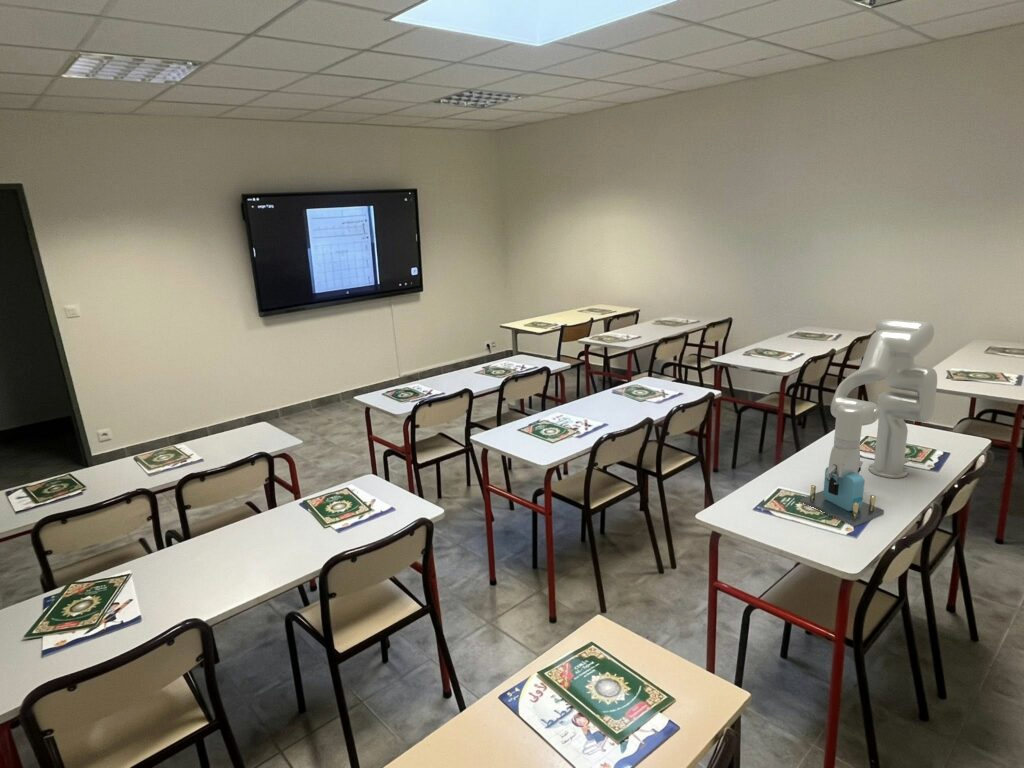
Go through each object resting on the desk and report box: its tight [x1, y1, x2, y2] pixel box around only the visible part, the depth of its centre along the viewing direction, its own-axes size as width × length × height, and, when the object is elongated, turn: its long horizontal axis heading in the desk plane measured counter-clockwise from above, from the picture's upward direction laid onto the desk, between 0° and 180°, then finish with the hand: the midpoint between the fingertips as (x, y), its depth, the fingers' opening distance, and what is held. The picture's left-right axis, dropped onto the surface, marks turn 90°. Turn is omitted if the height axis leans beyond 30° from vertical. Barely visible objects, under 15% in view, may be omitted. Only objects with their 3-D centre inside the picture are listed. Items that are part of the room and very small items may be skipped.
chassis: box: [799, 484, 885, 527], centre depth 206 cm, size 15×20×6 cm
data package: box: [823, 467, 865, 511], centre depth 205 cm, size 12×4×12 cm, turn 18°
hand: (842, 490), depth 205 cm, fingers open, 9 cm apart
